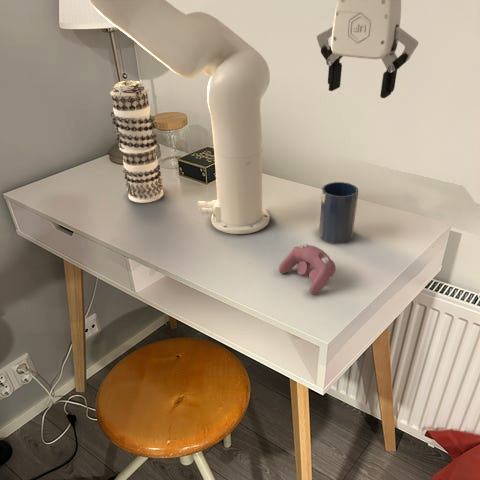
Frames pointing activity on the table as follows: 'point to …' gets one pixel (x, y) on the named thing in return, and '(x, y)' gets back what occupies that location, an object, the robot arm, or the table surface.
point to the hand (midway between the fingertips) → (359, 92)
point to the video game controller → (304, 258)
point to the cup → (337, 212)
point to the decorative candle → (136, 141)
